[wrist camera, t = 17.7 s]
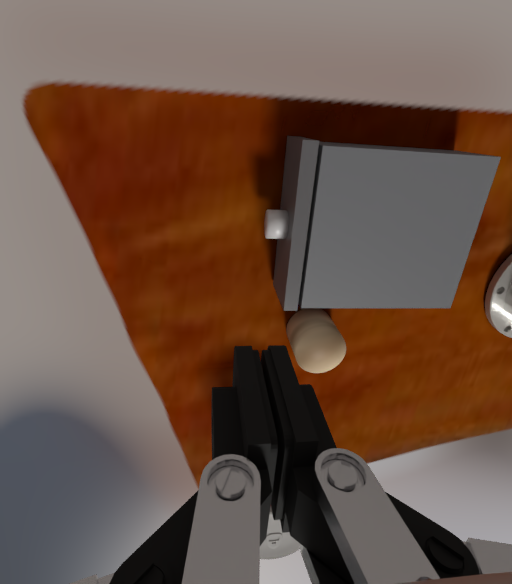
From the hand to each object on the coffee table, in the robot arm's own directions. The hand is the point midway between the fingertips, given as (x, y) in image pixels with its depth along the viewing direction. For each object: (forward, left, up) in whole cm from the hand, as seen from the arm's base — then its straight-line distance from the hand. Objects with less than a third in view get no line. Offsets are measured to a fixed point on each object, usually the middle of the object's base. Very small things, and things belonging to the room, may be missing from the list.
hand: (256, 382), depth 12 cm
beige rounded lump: (-15, -2, -23) cm, 28 cm away
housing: (-7, -12, -23) cm, 27 cm away
